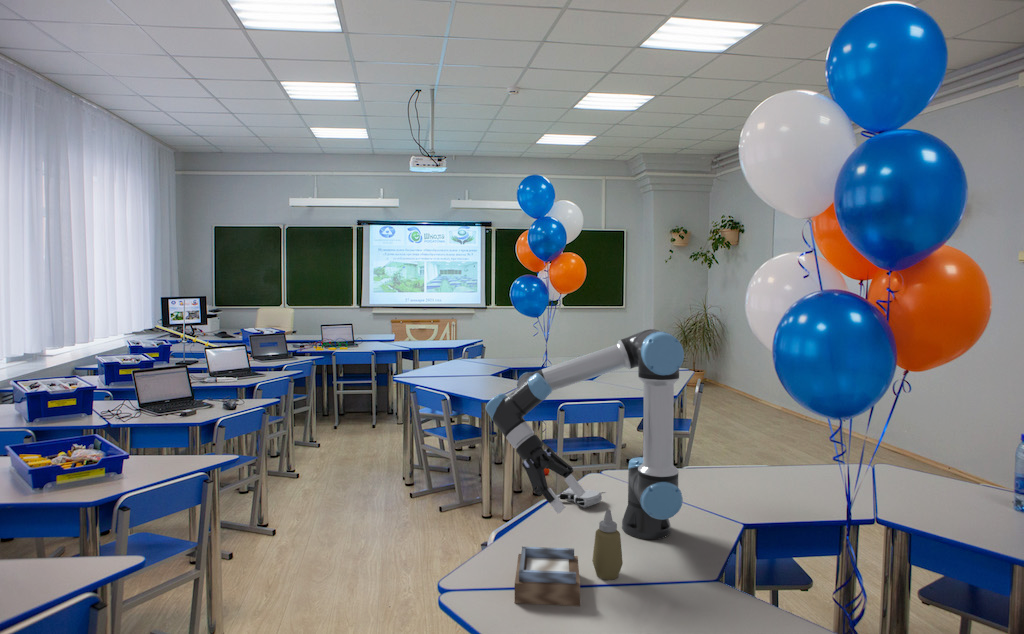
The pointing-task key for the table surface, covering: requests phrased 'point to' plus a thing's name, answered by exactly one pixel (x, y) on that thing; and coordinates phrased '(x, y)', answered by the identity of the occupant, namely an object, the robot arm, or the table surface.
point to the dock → (547, 577)
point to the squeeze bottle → (607, 549)
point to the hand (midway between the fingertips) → (572, 502)
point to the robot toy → (582, 497)
